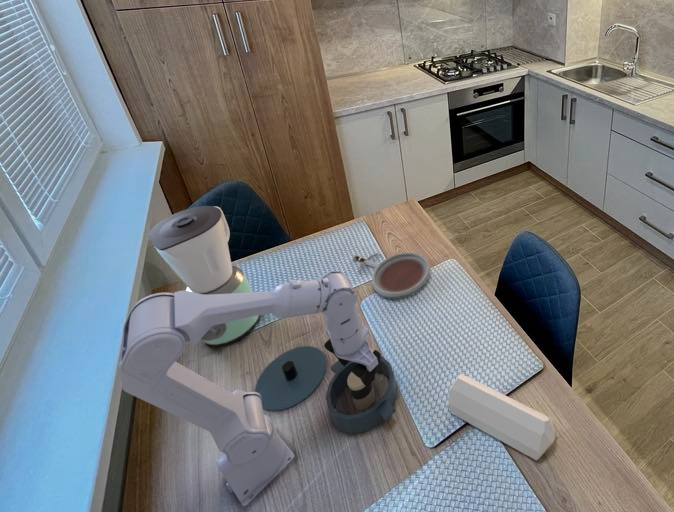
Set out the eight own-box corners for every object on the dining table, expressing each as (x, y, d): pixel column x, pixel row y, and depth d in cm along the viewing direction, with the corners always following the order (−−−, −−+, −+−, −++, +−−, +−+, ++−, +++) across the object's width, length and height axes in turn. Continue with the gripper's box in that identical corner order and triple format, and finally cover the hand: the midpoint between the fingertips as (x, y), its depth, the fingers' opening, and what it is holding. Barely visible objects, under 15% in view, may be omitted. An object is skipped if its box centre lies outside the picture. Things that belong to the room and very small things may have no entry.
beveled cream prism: (564, 409, 82) (464, 361, 92) (554, 429, 76) (447, 375, 85) (557, 445, 82) (458, 393, 92) (546, 469, 75) (440, 410, 85)
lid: (277, 427, 84) (270, 414, 82) (244, 387, 92) (237, 374, 90) (340, 370, 95) (336, 357, 93) (305, 338, 103) (301, 326, 101)
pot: (366, 459, 78) (360, 443, 76) (312, 401, 88) (305, 385, 86) (418, 399, 88) (415, 383, 86) (364, 353, 98) (360, 338, 96)
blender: (246, 353, 99) (195, 242, 84) (187, 360, 98) (124, 249, 83) (276, 292, 116) (238, 191, 101) (226, 298, 115) (180, 196, 100)
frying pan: (372, 236, 134) (441, 260, 122) (373, 243, 135) (442, 267, 123) (330, 271, 120) (404, 302, 108) (333, 278, 121) (406, 309, 110)
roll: (362, 414, 85) (355, 392, 82) (349, 401, 88) (342, 379, 85) (379, 396, 89) (373, 374, 85) (366, 384, 91) (360, 363, 88)
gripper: (385, 330, 78) (396, 375, 84) (341, 297, 86) (353, 340, 92) (354, 359, 73) (367, 404, 79) (310, 320, 81) (325, 364, 87)
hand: (358, 371), depth 85 cm, fingers open, 7 cm apart
